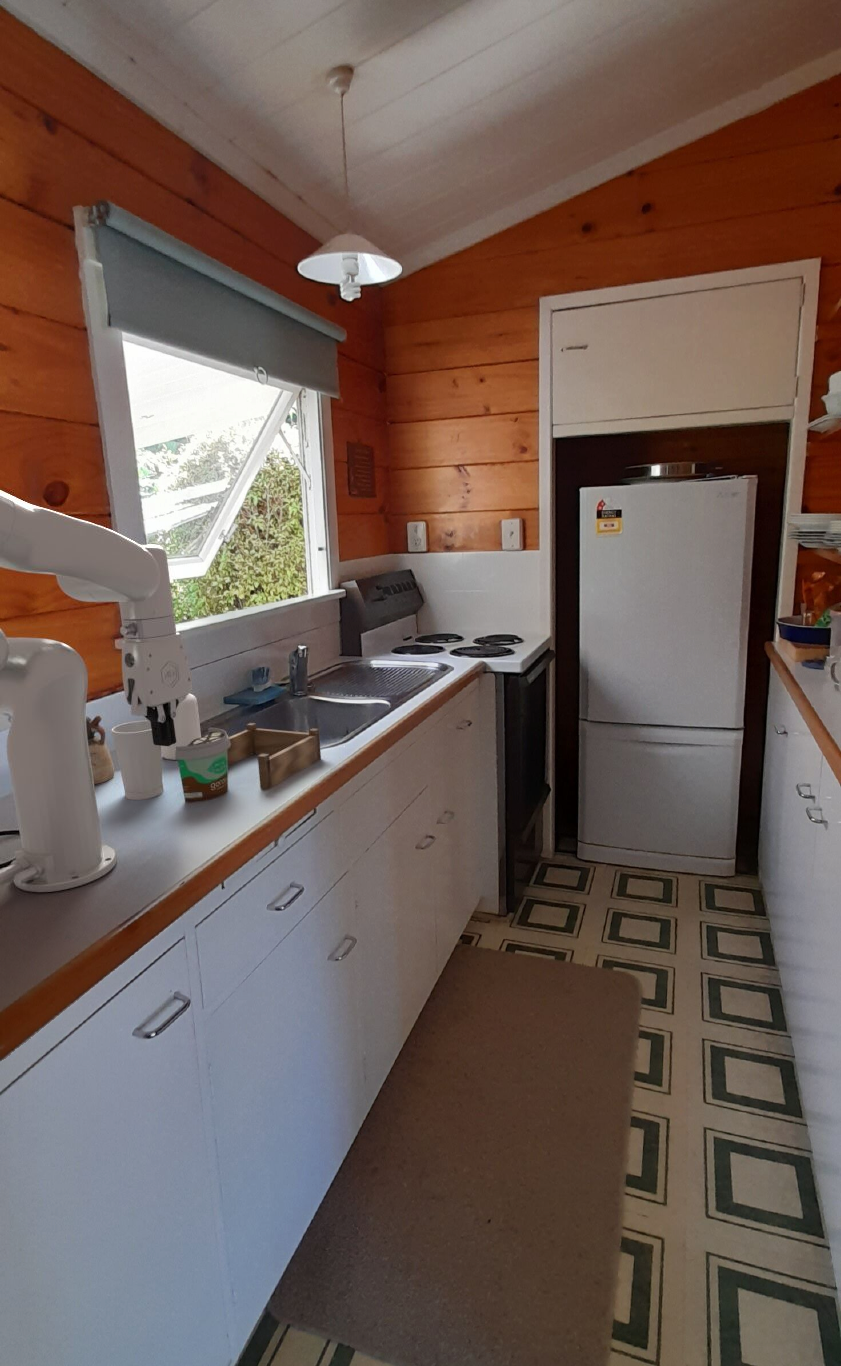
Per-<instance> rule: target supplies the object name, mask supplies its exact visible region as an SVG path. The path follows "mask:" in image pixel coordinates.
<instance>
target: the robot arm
mask: <svg viewBox="0 0 841 1366" xmlns="http://www.w3.org/2000/svg"><path fill="white" fill-rule="evenodd" d="M0 568H1V569H6V570H12V571H17V572H22V573H31V574H41V575H54V576H56V581H57V584H58V587H59V588H60V590H62V592H63V593H64V594H66V595H67V596H68V597H70V598H73V599H74V600H76V601H77V600H78V601H80V602H85V603H86V602H87V603H93V602H94V603H113V602H114V603H118V604H119V611H120V619H121V625H122V626H120V628H119V632H120V634H121V636H123V639H124V640H123V641H122V644H121V645H122V646H121V647H122V648H121V669H122V670H121V672H122V683H123V684H122V686H123V690H124V696H125V700H126V702H127V704H128V705H130V706H131V707H130V708H131V710H130V714H131V715H132V716H137V717H144V718H146V721H150V722H151V729H152V737H153V743H154V745H159V746H170V745H171V744H175V743H176V735H175V727H174V720H173V718H175V717H176V708H177V706H178V704H179V703H181V702H182V701H183V700H185V699H186V695H188V694H189V693H190V694H191V691H192V689H193V686H192V685H193V683H192V677H191V669H190V666H189V665H190V664H189V660H188V656H187V651H186V648H185V644H184V642H183V639H182V636H181V634H180V632H177V626H176V619H175V611H174V604H173V593H172V586H171V579H170V570H169V564H168V557H167V552H166V550H165V549H164V548H163V547H162V546H161V545H158V544H139V543H137V542H135V541H134V540H131V539H130V538H128V537H126V536H124V535H122V534H120V533H118V532H116V531H114V530H112V529H110V528H106V527H104V526H102V525H98V524H95V523H93V522H90V521H87V520H83V519H80V518H76V517H73V516H69V515H66V514H64V513H61V512H58V511H54V510H51V509H48V508H46V507H45V508H44V507H40V506H37V505H34V504H31V503H28V502H26V501H25V500H24V501H23V500H21V499H19V498H17V497H16V496H13V495H11V494H9V493H7V492H6V491H3V490H1V489H0ZM88 684H89V680H88V669H87V667H86V664H85V661H84V659H83V658H82V656H81V655H80V654H79V653H78V652H77V650H75V649H74V648H72V647H71V646H70V645H68V644H66V643H64V642H61V641H58V640H54V639H49V638H38V637H7V636H6V634H5V633H4V631H3V630H2V629H1V628H0V711H3V712H11V713H12V719H11V723H10V727H9V730H8V733H7V737H6V738H7V739H6V757H7V764H8V769H9V775H10V781H11V786H12V787H11V788H12V793H13V800H14V804H15V805H14V806H15V813H16V818H17V825H18V831H19V836H20V837H19V838H20V842H21V843H20V844H21V848H20V849H18V850H15V851H14V856H15V859H13V860H12V861H11V863H10V864H9V865H8V866H6V867H4V866H3V867H2V868H0V887H3V886H4V885H5V884H8V883H10V882H11V881H12V880H13V883H14V885H15V886H16V887H17V888H18V889H20V890H23V891H26V892H32V893H51V892H59V891H64V890H69V889H72V888H76V887H79V886H80V887H81V886H83V885H86V884H89V883H91V882H93V881H96V880H98V879H99V878H101V877H103V876H105V875H106V874H108V873H109V872H111V870H112V869H113V868H114V867H115V865H116V863H117V859H118V858H117V854H116V853H117V852H116V850H115V849H114V848H112V847H111V846H110V845H109V846H108V845H106V844H103V838H102V833H101V825H100V819H99V817H100V816H99V811H98V810H99V809H98V803H97V795H96V790H95V784H94V781H93V773H92V766H91V759H90V753H89V746H88V738H87V728H86V716H87V695H88Z"/></svg>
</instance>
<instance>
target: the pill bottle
mask: <svg viewBox="0 0 841 1366" xmlns="http://www.w3.org/2000/svg"><path fill="white" fill-rule="evenodd" d="M173 720H174V727H175V735H176V743H175V744H171V745H170V746H161V757H163V759H166V760H174V761H175V760H176V761H178V759H175V751H176V746H180V747H181V746H187V745H189V744H190V743H191V742H192V741H193V740H194V739H197V738H201V737H202V735H201V734H202V733H201V725H200V723H201V722H200V716H199V707H198V699H197V697H196V696H195V695H194V694H192V693H191V692H190V693H189V694H188V695H186V699H185V700H183V701H182V702H181V703H179V704H178V706H177V708H176V717H175V718H173Z"/></svg>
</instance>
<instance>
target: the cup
mask: <svg viewBox="0 0 841 1366" xmlns="http://www.w3.org/2000/svg"><path fill="white" fill-rule="evenodd" d="M111 735H112V739H113V745H114V747H115V751H116V757H117V761H118V766H119V770H120V775H121V780H122V784H123V789H124V796H125V798H126V799H128V800H133V801H138V800H139V801H140V800H146V799H147V800H148V799H152V798H155V797H157V796H159V795H160V796H161V795H162V794H163V793H164V784H163V766H162V765H163V763H162V761H163V760H162V752H161V746H159V745H154V743H153V737H152V729H151V722H150V721H147V720H136V721H130V722H125V723H121V724H118V725H115V726H114V727H112V728H111Z"/></svg>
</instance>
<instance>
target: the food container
mask: <svg viewBox="0 0 841 1366" xmlns="http://www.w3.org/2000/svg"><path fill="white" fill-rule="evenodd" d="M229 737H230V736H229V735H228V734H227V731H226V730H224V729H221V728H217V727H208V733H206V734H205V735H204V736H201V738H197V739H194V740H193V741H192V742H191V743H190V744H189V745H187V746H181V747H180V746H176V751H175V759H178V760H177V763H178V767H179V768H178V769H179V773H180V774H179V775H180V778H181V779H180V780H181V785H182V792H183V796H184V797H183V798H184V802H185V803H197V802H205V801H209V800H213V799H217V798H219V797H222V796H223V795H225V794H226V793H227V792H228V790H229V779H228V778H229V775H228V773H229V772H228V771H229V770H228V767H229V766H228V764H227V749H228V748H229V747H230V746H231V743H230V740H229Z"/></svg>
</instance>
